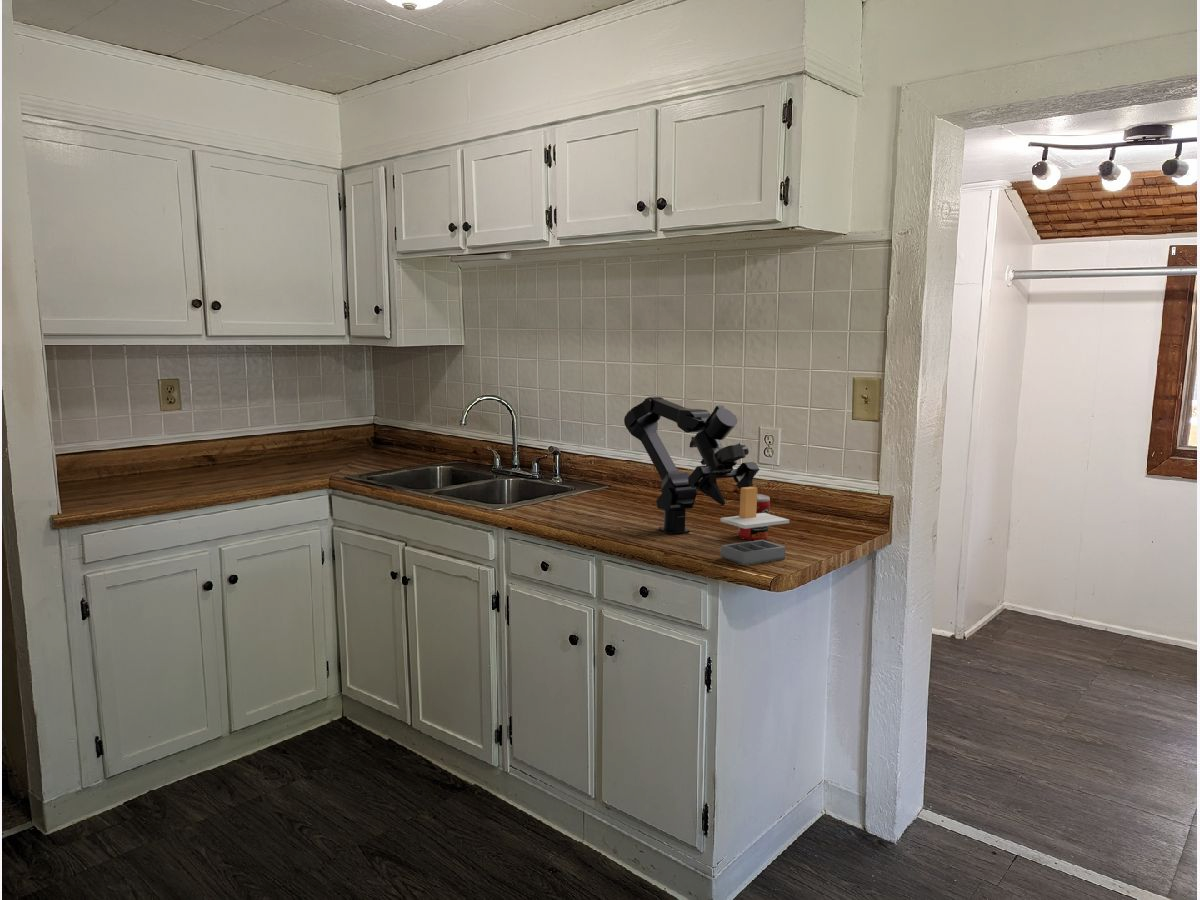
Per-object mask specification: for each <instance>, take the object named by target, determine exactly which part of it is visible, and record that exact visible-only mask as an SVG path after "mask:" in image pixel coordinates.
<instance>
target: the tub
mask: <svg viewBox="0 0 1200 900" xmlns="http://www.w3.org/2000/svg"><path fill="white" fill-rule="evenodd" d="M720 546H721V547H720V558H721V557H722V558H721V559H723V558H725V559H724V560H726V559H727V560H726V561H728V560H730V561H729V562H731V561H733V562H732V563H734V562H736V563H735V564H737V563H739V564H741V566H742V565H746V566H748V565H747V564H752V565H754V564H753V563H758V564H762V562H765V563H770V562H769V561H771V562H775V561H776V560H777V561H781V560H785V559H786V546H785V545H781V544H777V543H774V542H772V541H768V540H756V541H751V540H748V541H743V542H736V543H730V544H723V545H720ZM739 564H738V565H739Z"/></svg>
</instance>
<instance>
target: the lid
mask: <svg viewBox="0 0 1200 900" xmlns="http://www.w3.org/2000/svg"><path fill="white" fill-rule="evenodd" d="M739 494H740V496H739V504H740V514H739V513H738V515H734V516H727V517H720V522H722V523H725V524H728V525H731V526H735V527H741V528H744V529H747V528H755V527H762V526H768V527H769V526H777V525H785V524H790V518H789V519H788V518H785V517H781V516H777V515H774V514H770V513H769V514H767V513H758V514H756V510H757V494H758V487H754V486H753V487H743V488H741V490H740V493H739Z"/></svg>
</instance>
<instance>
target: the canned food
mask: <svg viewBox="0 0 1200 900" xmlns="http://www.w3.org/2000/svg"><path fill="white" fill-rule="evenodd" d="M770 505H771V499H770V496H768V495H766V494H761V493H757V510H756V514H758V513H767V514H770V509H771V507H770ZM738 507H739V508H738V510H739V511H738V515H739V514H740V503H739V506H738ZM737 529H738V530H737V531H738V532H737V533H738V537H739V538H740V539H742V538H744V539H743V540H745V539H748V540H747V541H751V540H765V539H766V540H767V539H768V537H769V536H768V535H769V526H762V527H755V528H747V529H744V528H741V527H738V528H737ZM766 540H765V541H766Z"/></svg>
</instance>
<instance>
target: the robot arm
mask: <svg viewBox="0 0 1200 900" xmlns="http://www.w3.org/2000/svg"><path fill="white" fill-rule="evenodd" d="M661 417H663V418H665V419H667V420H670V421H672V422H675V423H676V425H677V428H679V429H680V430H681V431H683V432H684V433H687V434H688V433H689V434H690V433H696V435H695V436H691V440H690V442H689V448H697V450H698V453H699V454H700V456H701V458H702V459H701V460H700V464H701V465H698V466H696V467H695V468H694V470H693V471H692V472H691V473H689V472H687V471H686V472H680V471H679V469H678V468H677V467H676V465H675V463H674V461H673V459H672V457H671V455H670V454H669V452H668V450H667V448H666V446H665V444H664V443H663V441H662V439H661V437H660V436H659V433H658V432H657V431H658V421H659V420H660V419H661ZM623 422H624V426H625V428H626V429H627V431H628V433H629V434H630V435H631V436H632V437H634V438H635V439H637V440H638V441H640V442H641V444H642V446H643V447H644V449H645V451H646V453H647V455H648V456H649V459H650V461H652V464H653V465H654V467H655V470H656V471H657V474H658V475H659V478H660V479H661V480H662V482H661V489H660V491H661V494H660V495H659V496H658V498H657V499H656V508H657V509H660V510H662V511H663V526H659V527H658V530H660V531H661V532H663V533H666V534H668V535H672V534H673V535H676V534H686V533H687V534H688V533H691V530H689V529H688V528H686V518H687V517H686V513H687V510H689V509H691V510H692V509H694V505H695V501H696V498H697V493H698V492H697V491H700V492H701V493H703V494H705V495H706V496H708V497H709V498H711V499H712V500H714V501H715V503H718V504H719V505H721V506H725V505H726V501H725V498H724V496H723V494H722V492H721V489H720V487H719V485H718V483H717V479H730V478H733V481H734V482H735V483H737V484H736V487H737V488H738V489H739V490H740V491H741V488H743V487H754V486H753V485H754V484H753V481H754V477H755V476H756V475H757V474H758V473H759V471H760V467H759V466H758V464H757V463H756V462H755V461H747V462H746V461H745V462H741V464H740V465H739V466H738V467H737V468H734V466H736V465H738V460H741V459H745V458H746V456H747V455H749V452H750V451H749V448H748V446H747V444H746V443H745V442H738V443H735V444H730V445H727V446H725V447H724V446H722V445H723V444H721V441H723V440H725V439H726V437H727V436H728V435H729V434H730V433H731V432H732V430H733V429H734V428H735V427H736V425H737V424H738V417H737V415H735V414H734V413H733V412H732V411H730V410H729V409H727V408H725V406H724V405H716V406H715V408H714V409H713V411H712V412H711V413H710V411H708V410H707V409H700V408H688V407H685V406H682V405H680V404H677V403H675V402H672V401H669V400H667V399H665V398H664V397H661V396H650V397H647V398H645V399H644V400H643V401H642V402H640V403H639V404H637V405H636V406H634V407H632V408H631V409H630V410H629V411H628V412H627V413H626V414H625V416H624V419H623Z"/></svg>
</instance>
